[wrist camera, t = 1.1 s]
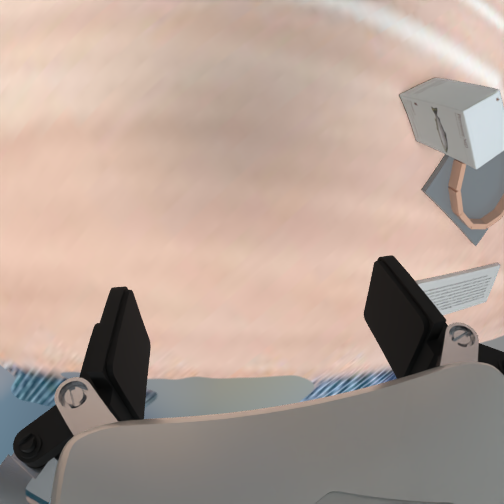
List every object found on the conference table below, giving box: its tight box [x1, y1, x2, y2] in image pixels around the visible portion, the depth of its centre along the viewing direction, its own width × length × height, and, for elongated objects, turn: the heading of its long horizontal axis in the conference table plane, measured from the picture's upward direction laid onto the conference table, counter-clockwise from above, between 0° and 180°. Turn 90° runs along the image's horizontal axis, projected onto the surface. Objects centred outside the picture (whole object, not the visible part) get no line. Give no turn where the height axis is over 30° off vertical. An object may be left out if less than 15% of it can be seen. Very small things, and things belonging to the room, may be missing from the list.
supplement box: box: [400, 78, 504, 169], centre depth 30 cm, size 7×7×13 cm
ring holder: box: [422, 151, 504, 246], centre depth 40 cm, size 19×19×3 cm
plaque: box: [415, 263, 500, 315], centre depth 54 cm, size 30×2×10 cm
